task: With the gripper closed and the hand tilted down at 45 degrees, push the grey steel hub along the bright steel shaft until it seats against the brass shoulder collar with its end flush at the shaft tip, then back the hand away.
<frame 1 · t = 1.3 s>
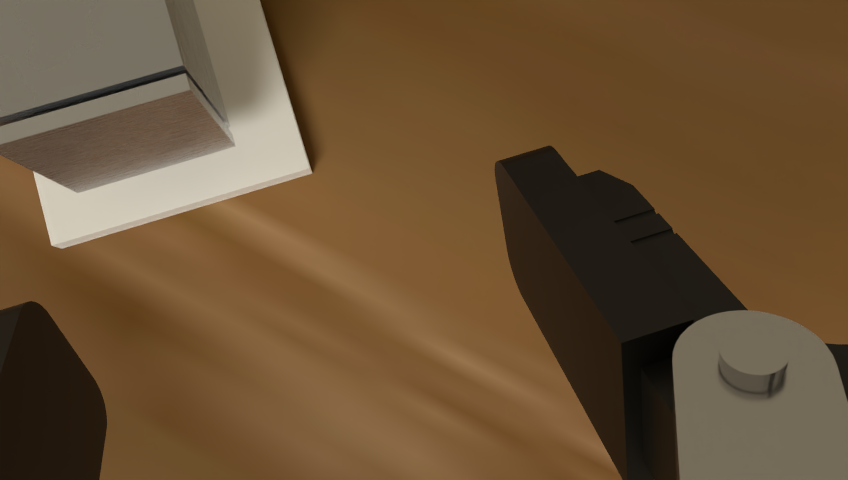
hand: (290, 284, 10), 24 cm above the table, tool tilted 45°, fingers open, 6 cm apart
hub: (98, 39, 28), point 7 cm above the table, slide at 6.0 cm
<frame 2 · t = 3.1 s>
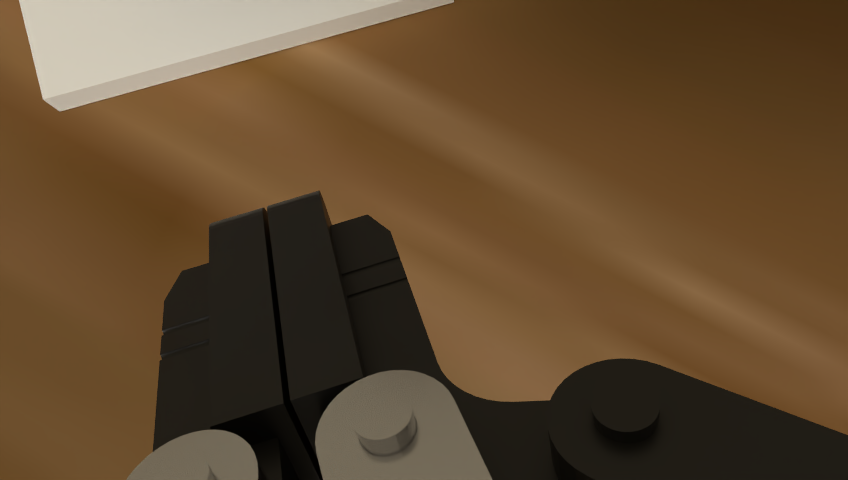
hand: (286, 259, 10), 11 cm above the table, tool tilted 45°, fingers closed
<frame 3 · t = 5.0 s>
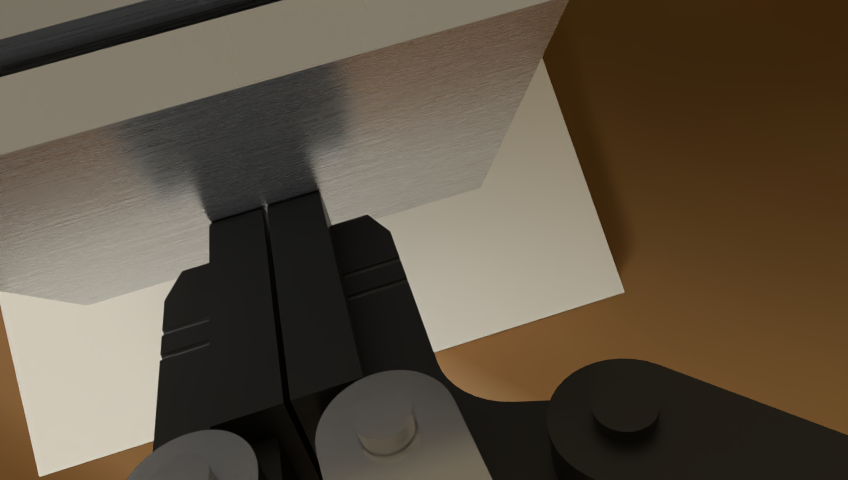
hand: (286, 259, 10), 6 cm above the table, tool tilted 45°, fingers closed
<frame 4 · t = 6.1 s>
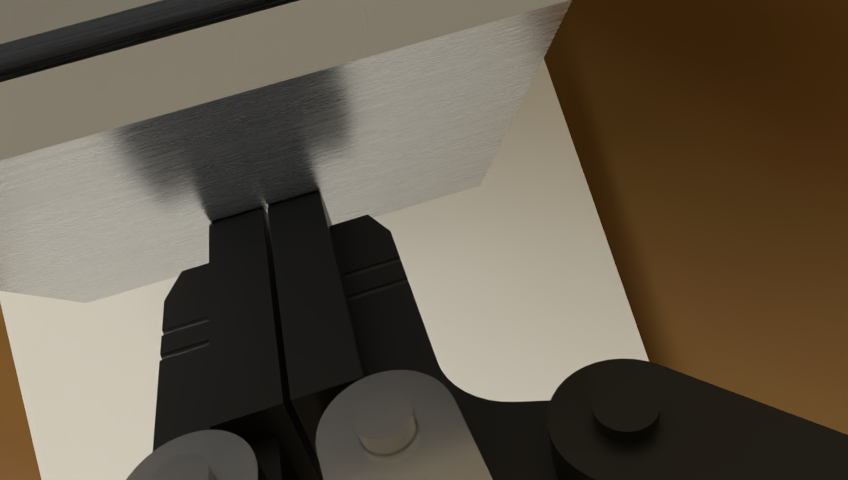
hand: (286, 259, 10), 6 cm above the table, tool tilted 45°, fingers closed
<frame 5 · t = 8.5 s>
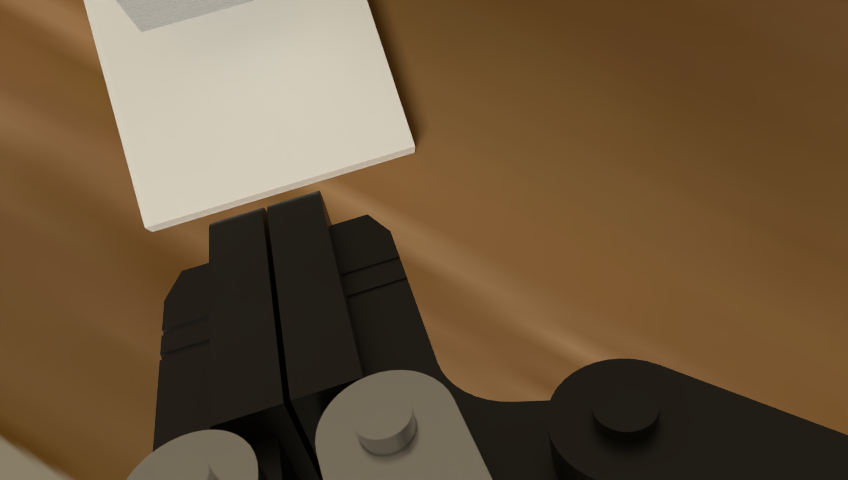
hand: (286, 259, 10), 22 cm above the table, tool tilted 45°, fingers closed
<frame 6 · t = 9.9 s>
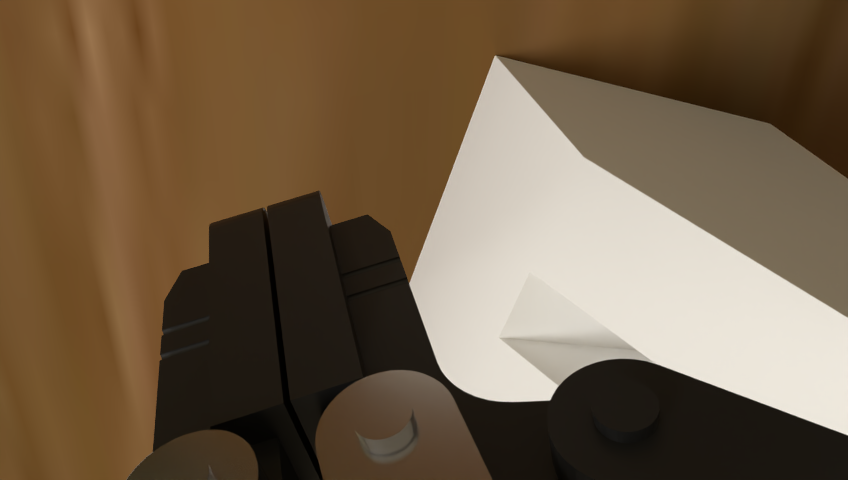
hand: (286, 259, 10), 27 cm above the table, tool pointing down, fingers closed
milk carton: (586, 202, 46), on the table
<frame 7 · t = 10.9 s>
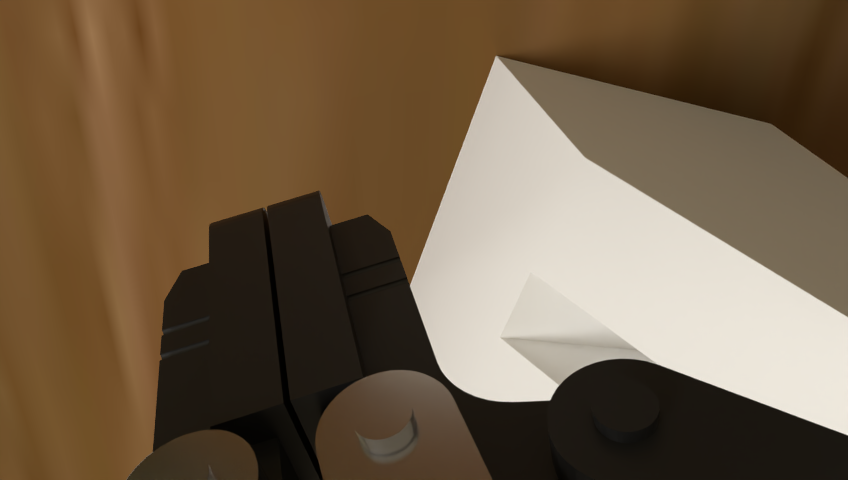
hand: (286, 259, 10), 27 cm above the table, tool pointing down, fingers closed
milk carton: (587, 202, 46), on the table
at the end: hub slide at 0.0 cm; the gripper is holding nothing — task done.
